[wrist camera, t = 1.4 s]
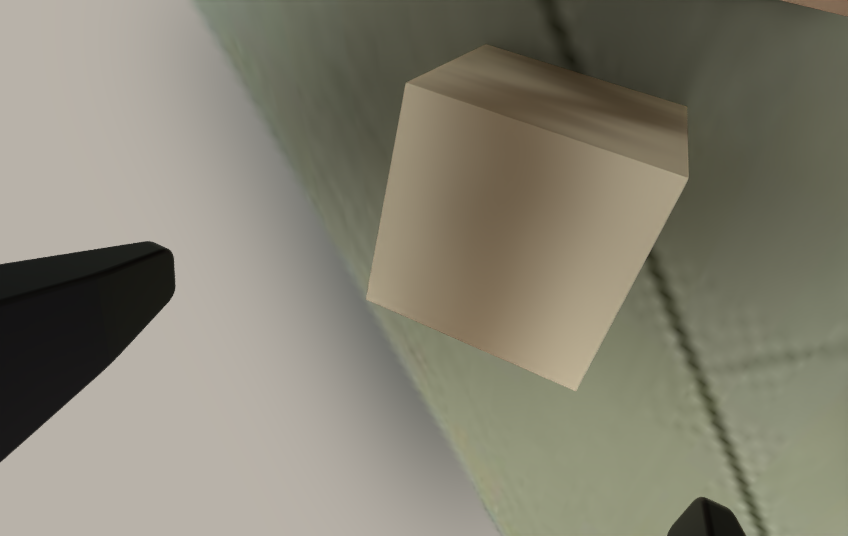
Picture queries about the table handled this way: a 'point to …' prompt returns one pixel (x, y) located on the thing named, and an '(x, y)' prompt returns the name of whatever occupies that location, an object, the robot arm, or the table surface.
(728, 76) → the table surface
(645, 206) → the maple cube
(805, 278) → the table surface
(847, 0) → the walnut block
